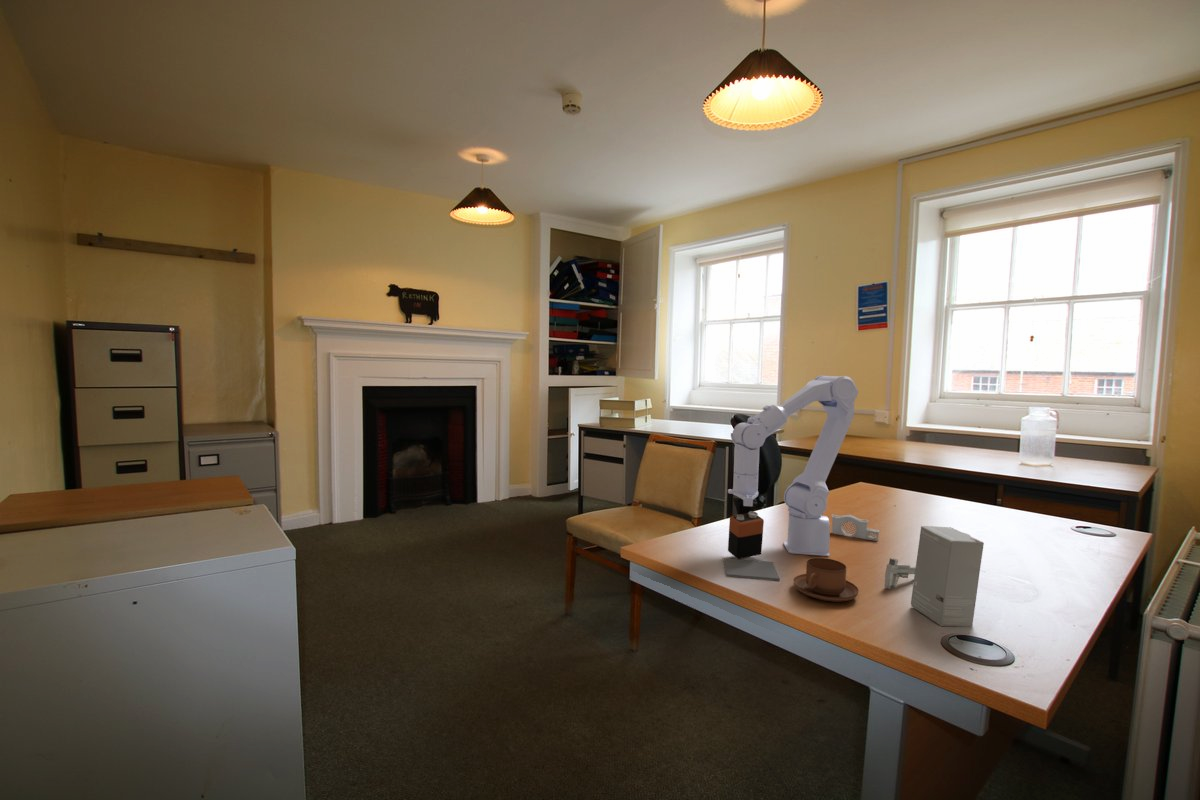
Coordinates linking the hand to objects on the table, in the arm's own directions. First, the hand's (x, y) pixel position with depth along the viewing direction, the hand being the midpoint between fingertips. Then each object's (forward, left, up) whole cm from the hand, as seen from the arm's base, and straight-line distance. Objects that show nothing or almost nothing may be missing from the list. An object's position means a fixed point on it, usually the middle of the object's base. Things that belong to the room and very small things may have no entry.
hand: (743, 528), depth 130 cm
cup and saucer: (-14, +21, -6) cm, 26 cm away
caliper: (-35, +9, -7) cm, 37 cm away
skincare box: (-33, +27, -6) cm, 43 cm away
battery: (0, +3, -5) cm, 6 cm away
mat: (-1, +11, -6) cm, 13 cm away
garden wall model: (-32, -21, -6) cm, 38 cm away
